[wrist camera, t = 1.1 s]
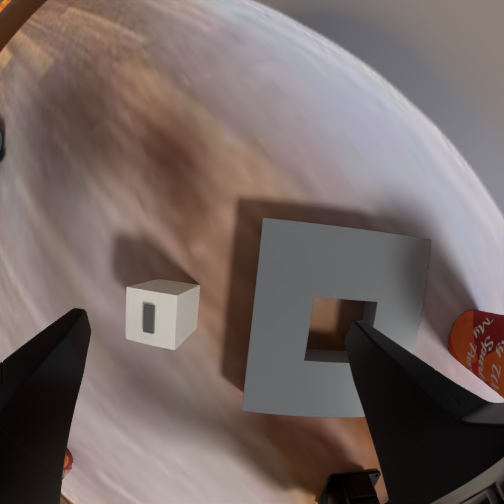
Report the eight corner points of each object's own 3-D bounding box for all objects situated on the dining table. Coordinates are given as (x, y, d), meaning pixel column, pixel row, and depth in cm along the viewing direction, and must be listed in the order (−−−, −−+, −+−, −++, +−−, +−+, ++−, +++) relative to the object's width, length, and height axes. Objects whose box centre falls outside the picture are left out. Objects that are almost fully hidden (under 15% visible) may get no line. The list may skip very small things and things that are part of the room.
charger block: (196, 328, 25) (173, 351, 18) (156, 320, 25) (124, 339, 19) (200, 285, 24) (176, 296, 18) (158, 278, 25) (125, 287, 19)
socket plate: (384, 400, 23) (394, 414, 20) (245, 394, 24) (241, 410, 21) (415, 240, 23) (431, 239, 20) (264, 221, 24) (263, 217, 21)
